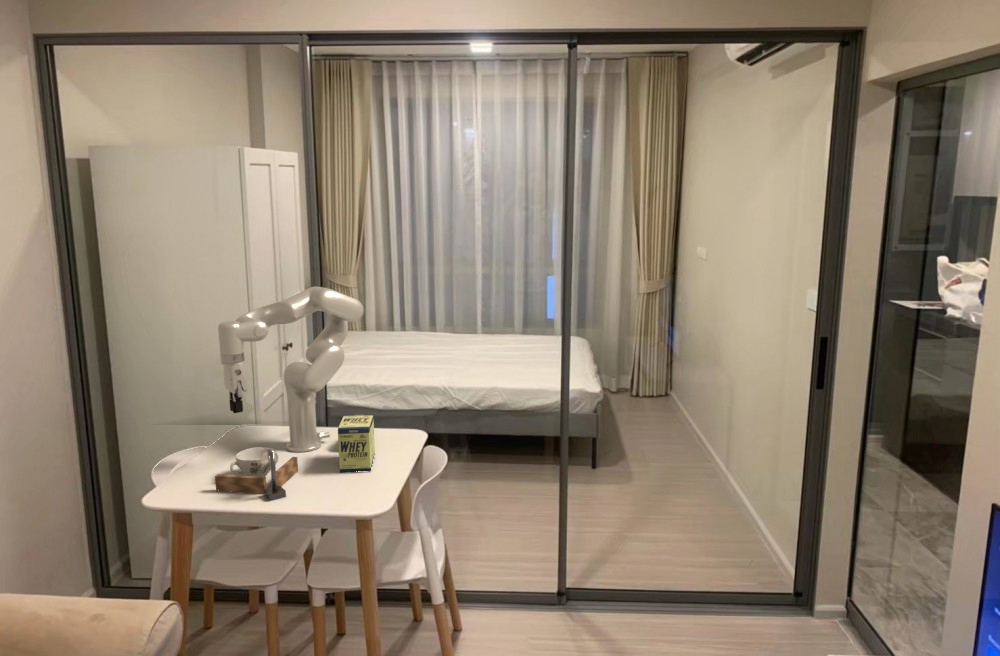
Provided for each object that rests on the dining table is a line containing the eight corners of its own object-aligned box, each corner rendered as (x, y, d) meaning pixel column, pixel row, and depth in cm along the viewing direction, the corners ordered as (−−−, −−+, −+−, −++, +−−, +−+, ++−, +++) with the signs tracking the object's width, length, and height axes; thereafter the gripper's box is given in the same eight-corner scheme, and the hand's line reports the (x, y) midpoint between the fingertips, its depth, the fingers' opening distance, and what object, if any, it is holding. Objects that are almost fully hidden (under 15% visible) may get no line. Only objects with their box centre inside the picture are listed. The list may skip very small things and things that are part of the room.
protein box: (339, 473, 236) (337, 428, 233) (345, 456, 252) (343, 414, 249) (371, 472, 237) (369, 427, 234) (375, 455, 252) (373, 413, 250)
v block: (296, 470, 239) (296, 456, 238) (311, 481, 230) (310, 467, 229) (215, 490, 224) (213, 475, 223) (227, 503, 214) (225, 487, 213)
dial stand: (279, 490, 223) (276, 447, 220) (286, 496, 218) (283, 453, 216) (262, 494, 220) (259, 451, 217) (269, 501, 215) (266, 457, 213)
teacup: (267, 465, 244) (266, 443, 242) (284, 476, 234) (282, 453, 233) (223, 477, 234) (221, 454, 232) (239, 488, 225) (237, 464, 223)
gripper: (251, 361, 234) (255, 414, 237) (236, 352, 246) (240, 403, 250) (228, 364, 229) (232, 419, 233) (214, 355, 242) (218, 407, 245)
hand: (236, 410), depth 241 cm, fingers closed
